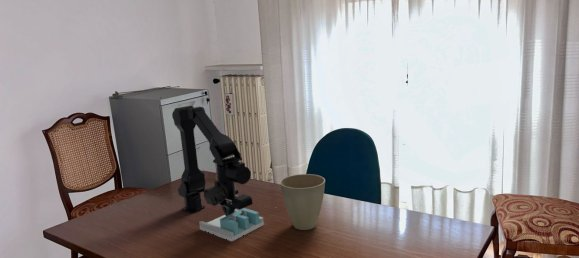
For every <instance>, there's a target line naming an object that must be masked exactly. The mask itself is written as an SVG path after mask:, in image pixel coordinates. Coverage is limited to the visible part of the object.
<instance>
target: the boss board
mask: <svg viewBox="0 0 579 258" xmlns="http://www.w3.org/2000/svg"><path fill="white" fill-rule="evenodd" d="M239 210H241V209H237V208H236V209H235V211H234V212H237V211H239ZM241 212H242V215H243V216H246V217H247V215H246V210H241ZM223 217H226V216H225V214H223V215H221V216H219V217H217V218H215V219H213V220H210V221H207V222H205V221H203V220H201V221H199V230H201V231H203V232H205V231H206V233H208V232H209V234H211V235H213V234H214V236H216V237H219V238H221V239H225V240H226V239H227V241H229V242H234V241H236V240H238V239H239V238H241V237H243V235H244V236H245V235H247V234H250V233H252V232H253V231H255V230H257V229H258V228H261V227H263V226H264V225H265V224H264V223H265V222H264V217H263V216H259V224H257V225H255V224H252V223H249V229H247V230H244V229H241V228H238V229H239V234H237V235H234V233H233V232H230V231H228V230H225V229H222V228H221V226H220V219H221V218H223ZM231 220H233V221H235V222H236V215H235V214H232V215H231Z"/></svg>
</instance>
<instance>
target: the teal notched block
mask: <svg viewBox="0 0 579 258" xmlns="http://www.w3.org/2000/svg"><path fill="white" fill-rule="evenodd" d="M238 210H239V211H237V212H234V213H232V214H235V215H236V222H235V221H233V220H231V215H232V214H230V215H228V216H226V217H223V218H221V219H220V226H221V228H222V229H225V230H228V231H230V232H233V233H234V235H237V234H239V229H238V228H241V229H244V230H247V229H249V223H252V224H255V225H257V224H259V217H260V214H259V213H260V212H258V211H255V210H252V209H249V208H247V207H245V208H243V209H238ZM241 210H246V215H247V217H246V216H243V215H242V212H241Z"/></svg>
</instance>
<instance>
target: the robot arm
mask: <svg viewBox="0 0 579 258" xmlns="http://www.w3.org/2000/svg"><path fill="white" fill-rule="evenodd" d="M171 115H172V119H173V123H174V126H175V127H176V128H177V129H178V131H179V133H180V141H181V142H180V143H181V149H182V156H183V158H182V159H183V165H184V170H183V173H182V175H181V183H180V185H179V187H178V188H177V191H178V196H180V197H182V198H183V199H184V206H183V207H181V210H182V211H184V212H188V213H191V214H193V213H195V212H199V211H200V210H203V209H205V208H206V206H205V205H202V198H201V193H203V197H204V199H205V202H206V204H207V205H211V206H214V207H215V206H217V205H219V206H220V208H221V209H222V211H223V213H224V215H225V216H228V215H230V214H232V213H234V211H235V209H237V210H241V209H243V208H247V207H249V206H251V205H253V197H252V196H251V195H248V194H244V193H243V194H240V195H238V194H239V189H236V184H238V185H246V184H247V183H248V182H249V181H250V179H251V176H252V172H251V170H250V168H249V167H248V166H246V163H245V162H243V158H242V154H241V153H240V151H239V149H238V148H237V147H238V146H236V143H235V142H234V141H233V139H231V138H230V137H229V136H228V135H226V134H224V133H222V132H221V131H220V130H219V129H218V127H217V126H216V125H215V123H214V122H213V121H212V119H211V118H210V117H209V115H208V114H207V113H206V110H205V108H204V107H203V106H196V107H194V106H193V105H186V106H181V107H175V108H174V110H173V111H172V113H171ZM196 127H197V128H198V129H199V131H200V132H201V133H202V135H203V136H204V137H205V139H206V140H207V141H208V143H209V147H208V148H209V151H210V153H211V155H212V157H213V158H214V159H213V160H212V162H213V164H216V166H215V167H216V177H217V179H216V180H215V181H214V185H213V186H211V187H208V188H206V183H207V182H206V177H205V176H206V175H205V172H202V170H201V169H200V167H199V165H198V155H197V154H198V153H197V148H196V147H197V146H196V138H195V129H196Z"/></svg>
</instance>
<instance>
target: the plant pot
mask: <svg viewBox="0 0 579 258" xmlns="http://www.w3.org/2000/svg"><path fill="white" fill-rule="evenodd" d="M279 184H280V189H281V192H282V197H283V202H284V203H285V208H286V211H287V213H288V216H289V218H290V221H291V223H292V225H293V228H295V229H297V230H301V231H307V230H312V229H315V227H317V226H316V225H317V223H318V220H319V216H320V213H321V209H322V205H323V200H324V194H325V185H326V179H325V177H323V176H321V175H318V174H310V173H303V174H302V173H300V174H293V175H289V176H285V177H284V178H281V180H280V181H279Z"/></svg>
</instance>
